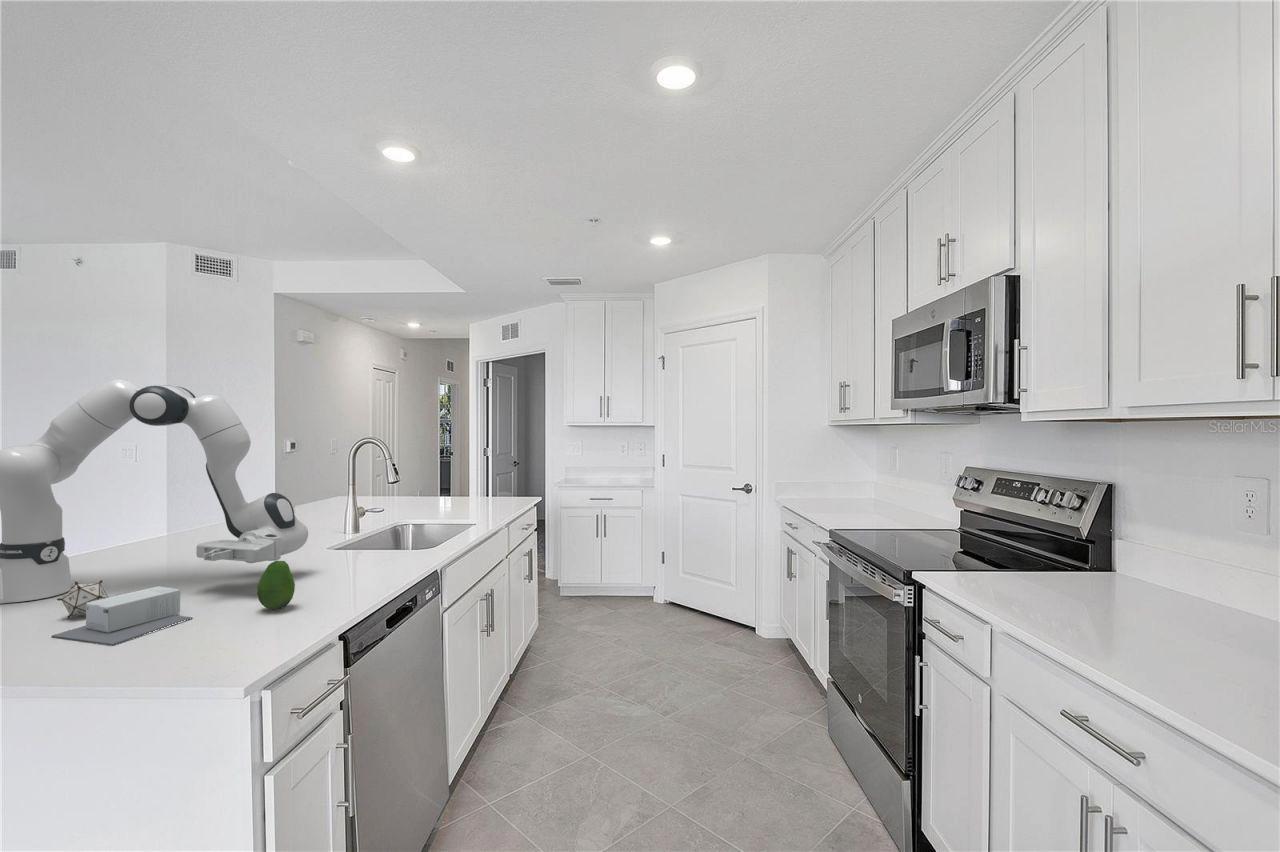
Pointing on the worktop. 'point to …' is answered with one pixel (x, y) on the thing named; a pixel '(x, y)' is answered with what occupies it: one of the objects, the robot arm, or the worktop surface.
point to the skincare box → (132, 608)
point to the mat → (118, 632)
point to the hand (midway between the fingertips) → (208, 557)
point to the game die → (82, 597)
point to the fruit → (276, 586)
